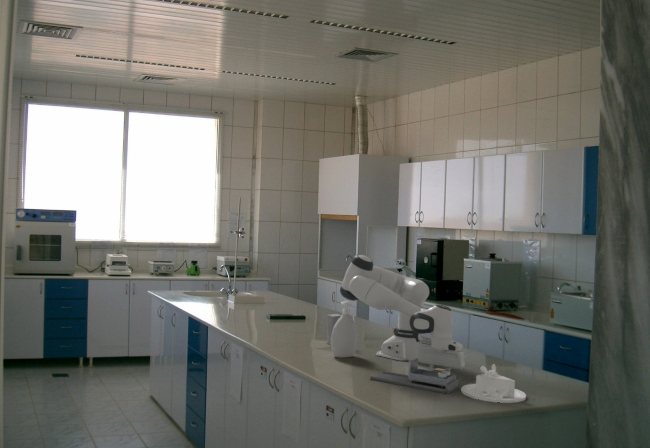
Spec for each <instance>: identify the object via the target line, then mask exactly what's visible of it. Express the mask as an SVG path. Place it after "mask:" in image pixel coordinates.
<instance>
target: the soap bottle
mask: <svg viewBox="0 0 650 448" xmlns="http://www.w3.org/2000/svg"><path fill="white" fill-rule="evenodd" d="M340 304H341V305H342V306H344V308H342V310H341V311H342V312H341V315H342V316H341V317H340V318H339V319H338V320H337V322H336V324H335V325H334V327H333V331H332V336H331V345H330V348H331V349H330V350H331V352H332V354H333V356H334V357H335V358H337V359H338V358H341V359H342V358H344V359H345V358H352V357H354V356H355V354H356V352H357V348H358V344H359V332H358V327H357V324H356V322H355V321H354V320H353V318H352V317H351V315H350V314H351V310H350V308H348V306H352V303H351V302H350V300H344V301H340Z"/></svg>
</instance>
